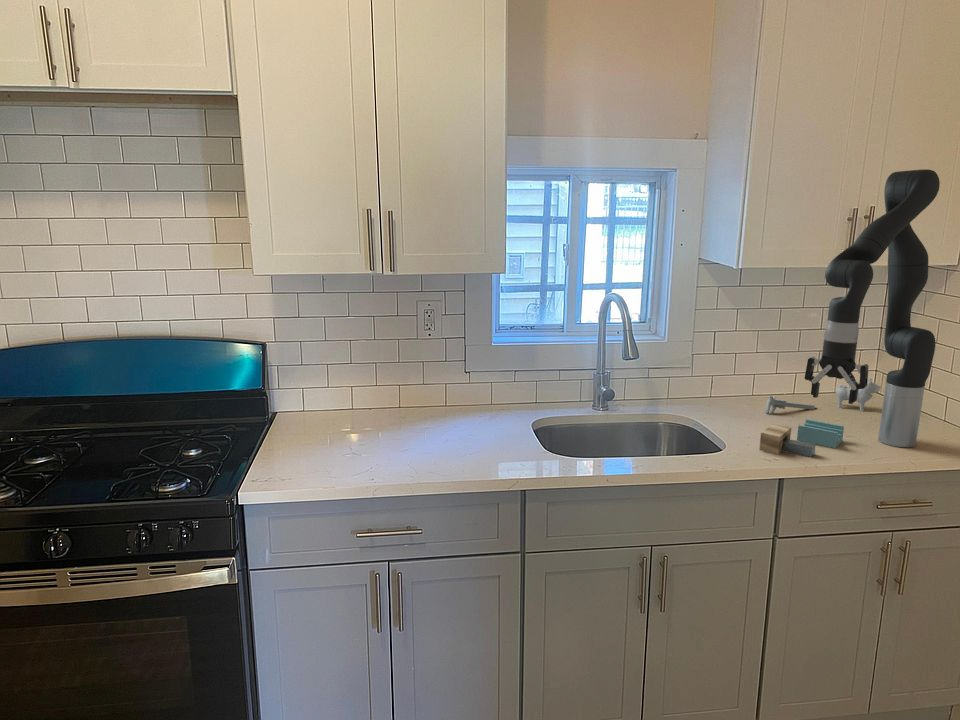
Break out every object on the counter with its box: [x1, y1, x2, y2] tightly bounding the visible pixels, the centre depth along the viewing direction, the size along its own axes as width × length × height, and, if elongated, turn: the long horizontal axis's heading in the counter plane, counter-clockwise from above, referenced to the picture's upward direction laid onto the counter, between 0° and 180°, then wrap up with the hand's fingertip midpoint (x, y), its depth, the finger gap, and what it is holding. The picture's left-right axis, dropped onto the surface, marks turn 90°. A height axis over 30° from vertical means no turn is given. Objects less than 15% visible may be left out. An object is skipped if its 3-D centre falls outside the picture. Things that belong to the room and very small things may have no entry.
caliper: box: [764, 395, 818, 415], centre depth 219 cm, size 20×1×6 cm, turn 108°
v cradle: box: [796, 418, 845, 449], centre depth 191 cm, size 8×10×4 cm
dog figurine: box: [835, 378, 882, 413], centre depth 221 cm, size 5×13×11 cm, turn 60°
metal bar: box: [781, 438, 816, 458], centre depth 183 cm, size 3×12×3 cm, turn 49°
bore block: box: [759, 423, 792, 455], centre depth 185 cm, size 10×5×5 cm, turn 139°
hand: (832, 400), depth 173 cm, fingers open, 8 cm apart
